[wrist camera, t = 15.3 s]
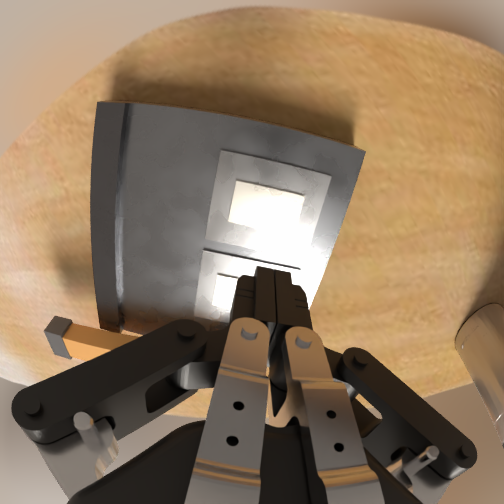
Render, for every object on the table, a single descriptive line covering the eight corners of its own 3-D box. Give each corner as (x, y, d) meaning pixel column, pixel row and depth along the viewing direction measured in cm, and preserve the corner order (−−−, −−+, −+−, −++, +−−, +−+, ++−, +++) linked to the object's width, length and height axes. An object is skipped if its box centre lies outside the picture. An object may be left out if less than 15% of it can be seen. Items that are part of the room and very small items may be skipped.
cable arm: (55, 314, 27) (43, 332, 24) (244, 345, 27) (242, 369, 24) (65, 338, 28) (53, 355, 26) (242, 369, 29) (240, 392, 26)
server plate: (353, 145, 22) (369, 153, 19) (283, 344, 32) (284, 370, 29) (117, 100, 21) (94, 101, 17) (111, 307, 31) (98, 329, 28)
